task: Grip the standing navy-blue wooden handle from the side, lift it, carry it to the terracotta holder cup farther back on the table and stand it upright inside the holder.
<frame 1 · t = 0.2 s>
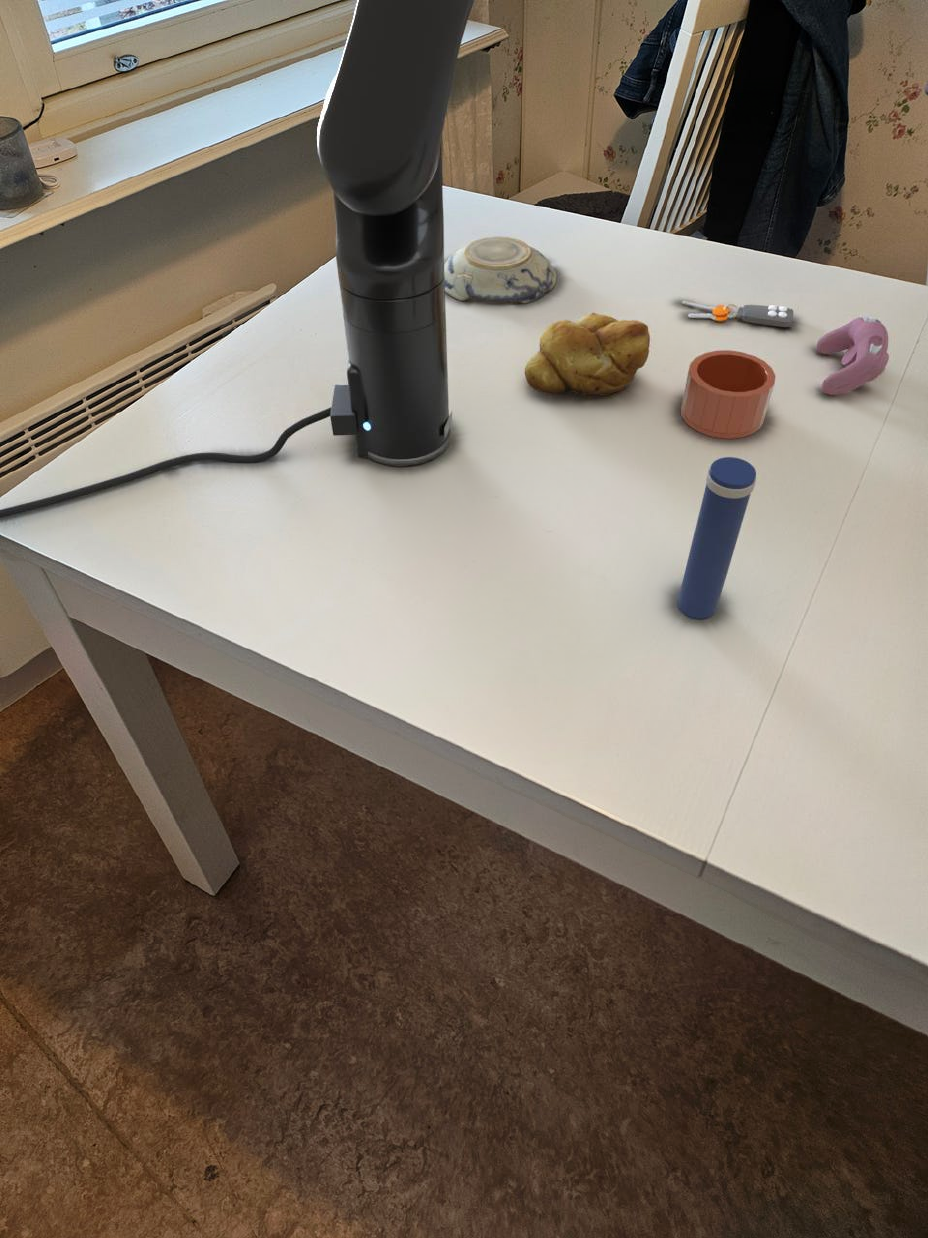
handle: (696, 605, 72), on the table
holder: (721, 414, 90), on the table
decorative bowl: (497, 279, 111), on the table
bread roll: (580, 382, 95), on the table
key chain: (734, 318, 104), on the table
video game controller: (843, 376, 95), on the table
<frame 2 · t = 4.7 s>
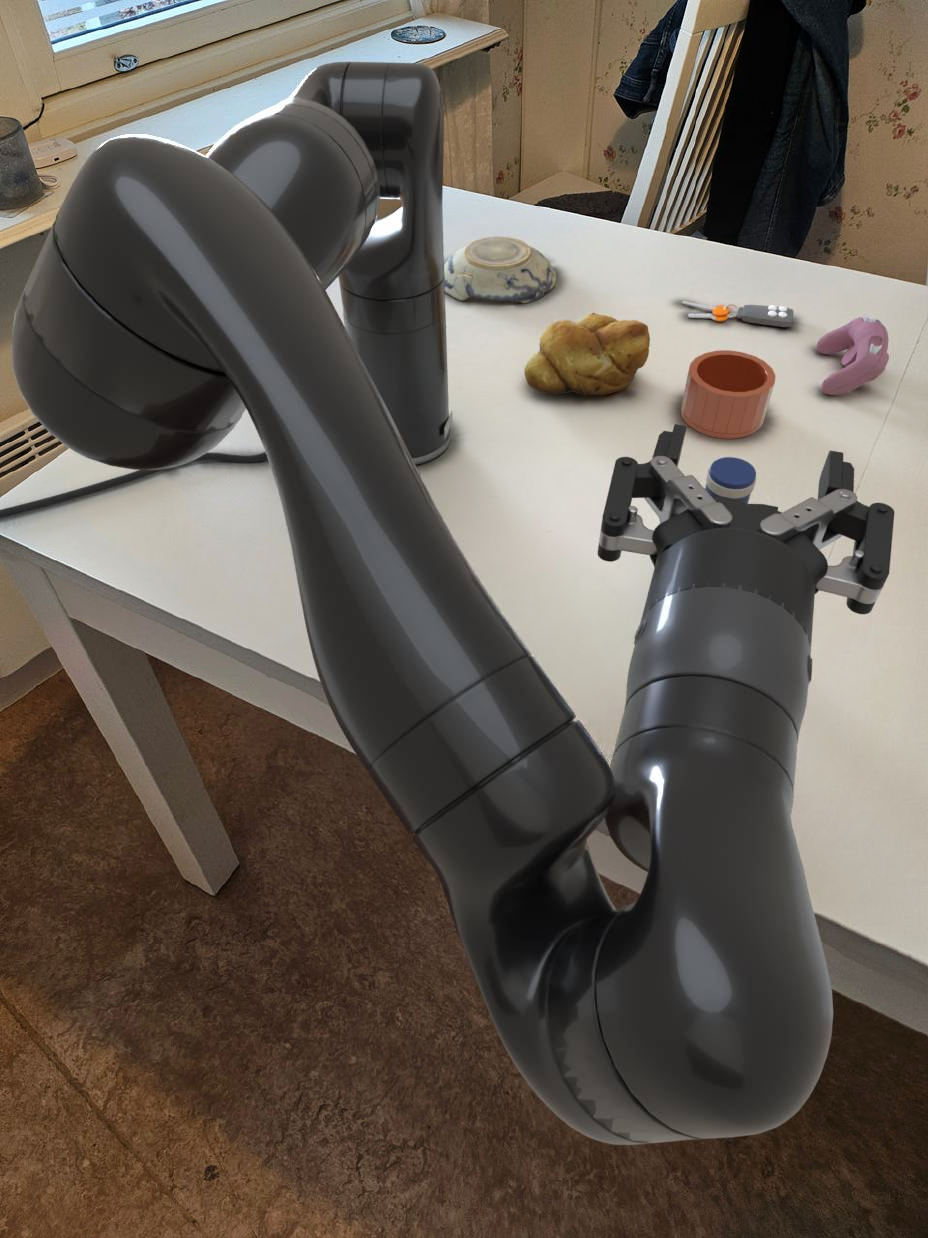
hand: (753, 450, 50), 22 cm above the table, tool horizontal, fingers open, 8 cm apart
nothing on the table moved.
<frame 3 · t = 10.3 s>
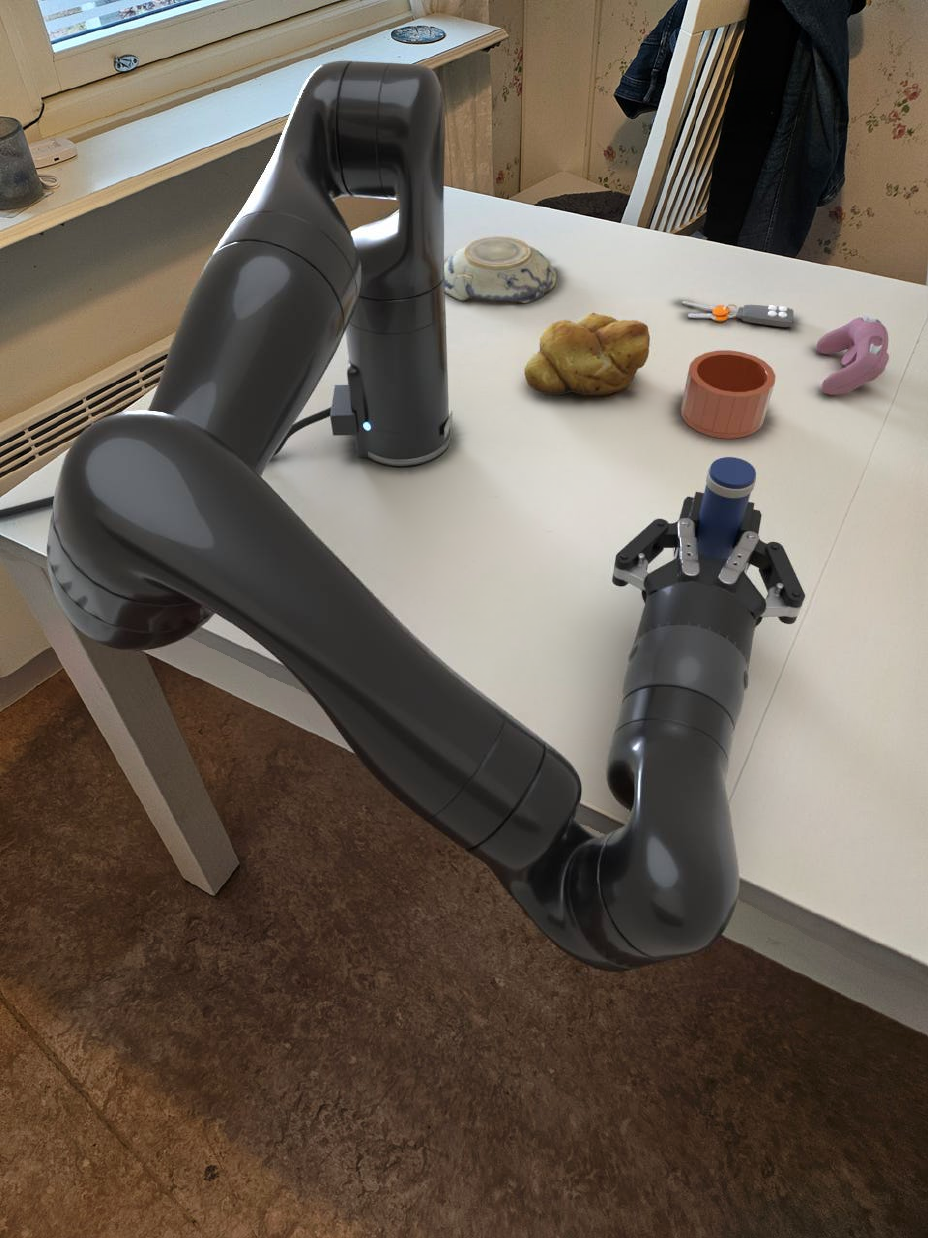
hand: (722, 506, 68), 8 cm above the table, tool horizontal, fingers closed on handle, 3 cm apart
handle: (697, 605, 72), on the table, touching gripper
everything else where it was.
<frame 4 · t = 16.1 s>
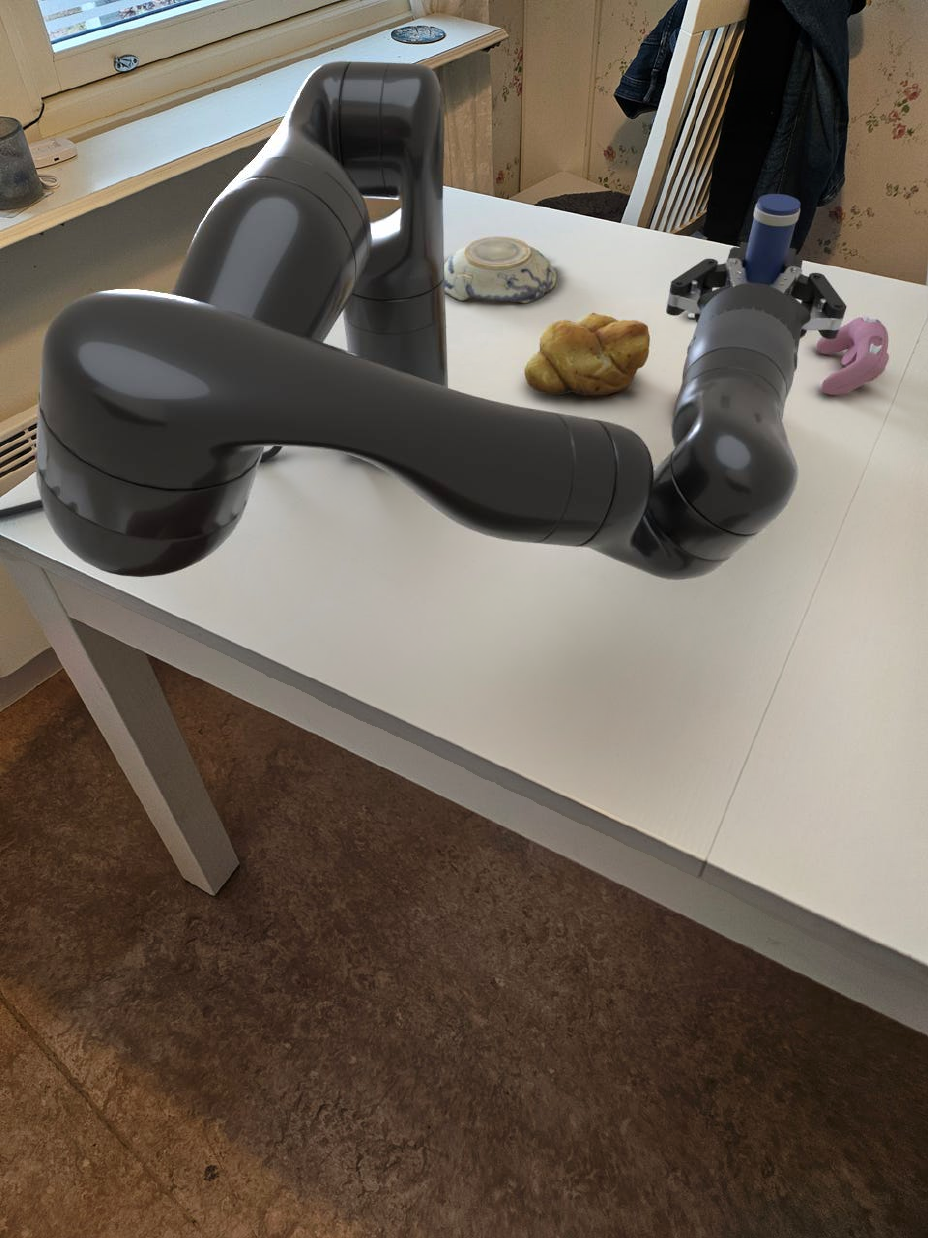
hand: (766, 256, 73), 19 cm above the table, tool horizontal, fingers closed on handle, 3 cm apart
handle: (739, 362, 78), point 11 cm above the table, touching gripper
everything else where it was.
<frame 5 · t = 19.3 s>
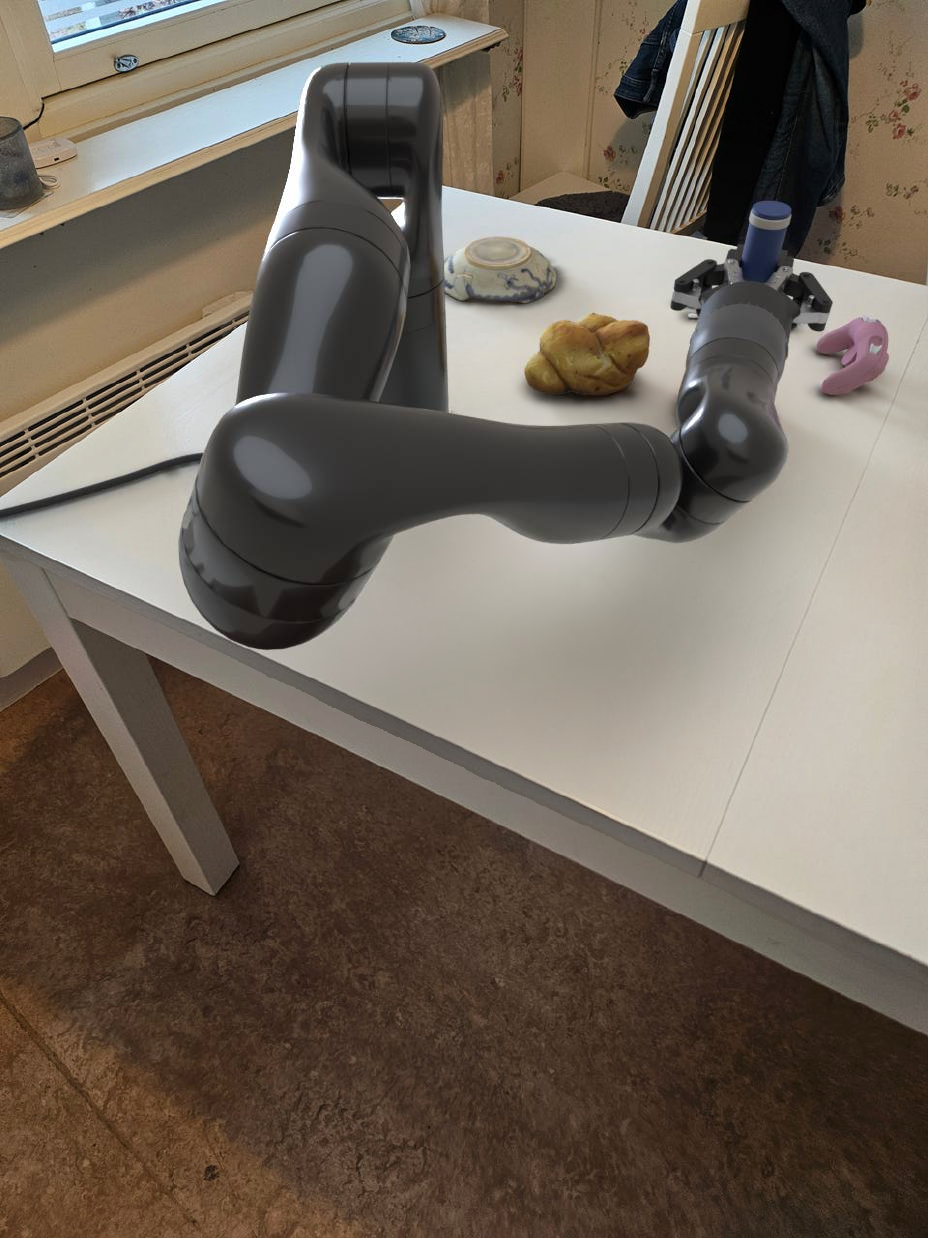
hand: (760, 257, 81), 15 cm above the table, tool horizontal, fingers closed on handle, 3 cm apart
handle: (736, 354, 85), point 7 cm above the table, touching gripper
everything else where it was.
when the fingers open (9 cm above the table, at t = 21.8 s): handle stays where it is, resting on holder.
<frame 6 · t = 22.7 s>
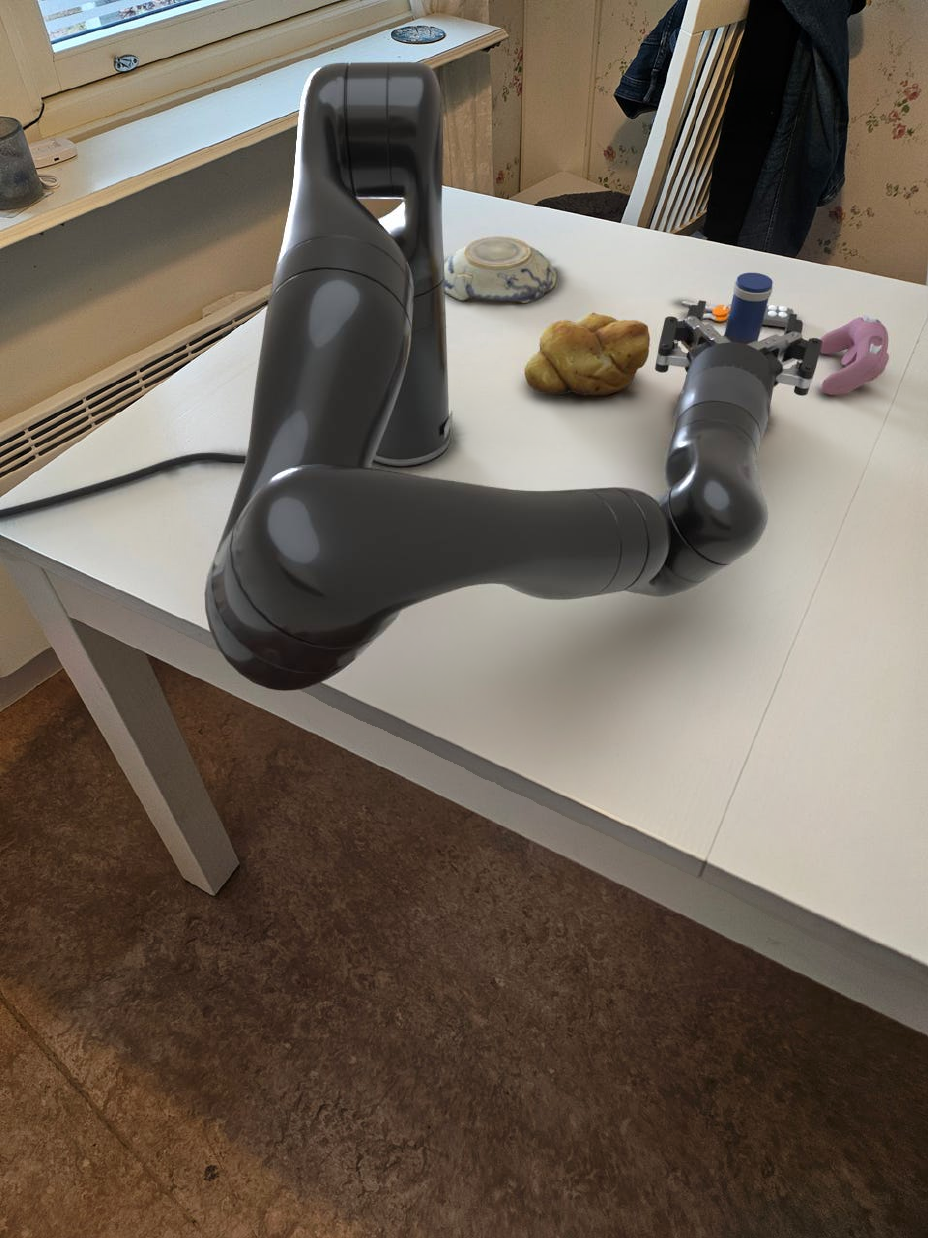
hand: (745, 315, 84), 10 cm above the table, tool horizontal, fingers open, 8 cm apart
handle: (723, 410, 90), point 1 cm above the table, touching holder
everything else where it was.
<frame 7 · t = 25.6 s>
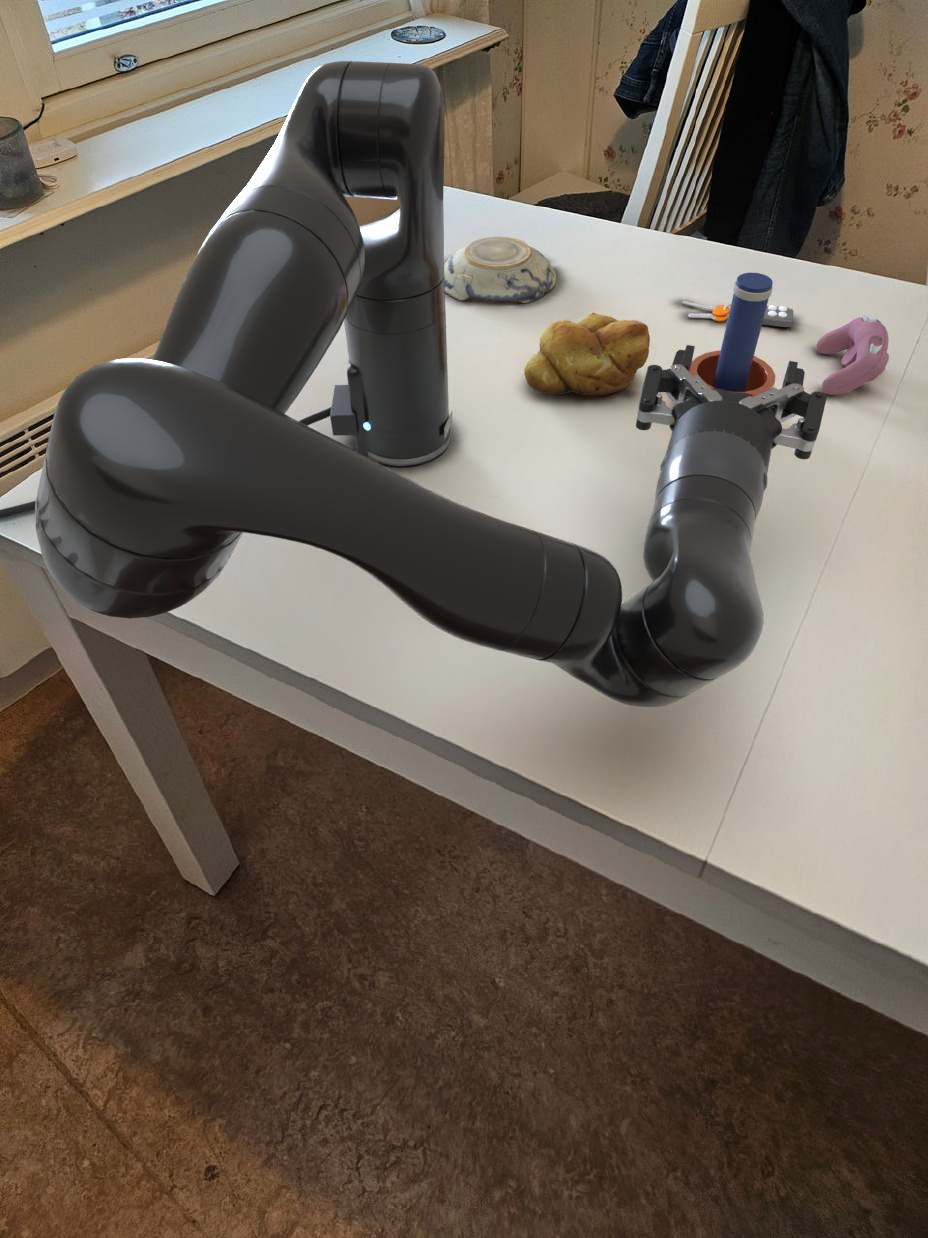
hand: (739, 362, 74), 12 cm above the table, tool horizontal, fingers open, 8 cm apart
nothing on the table moved.
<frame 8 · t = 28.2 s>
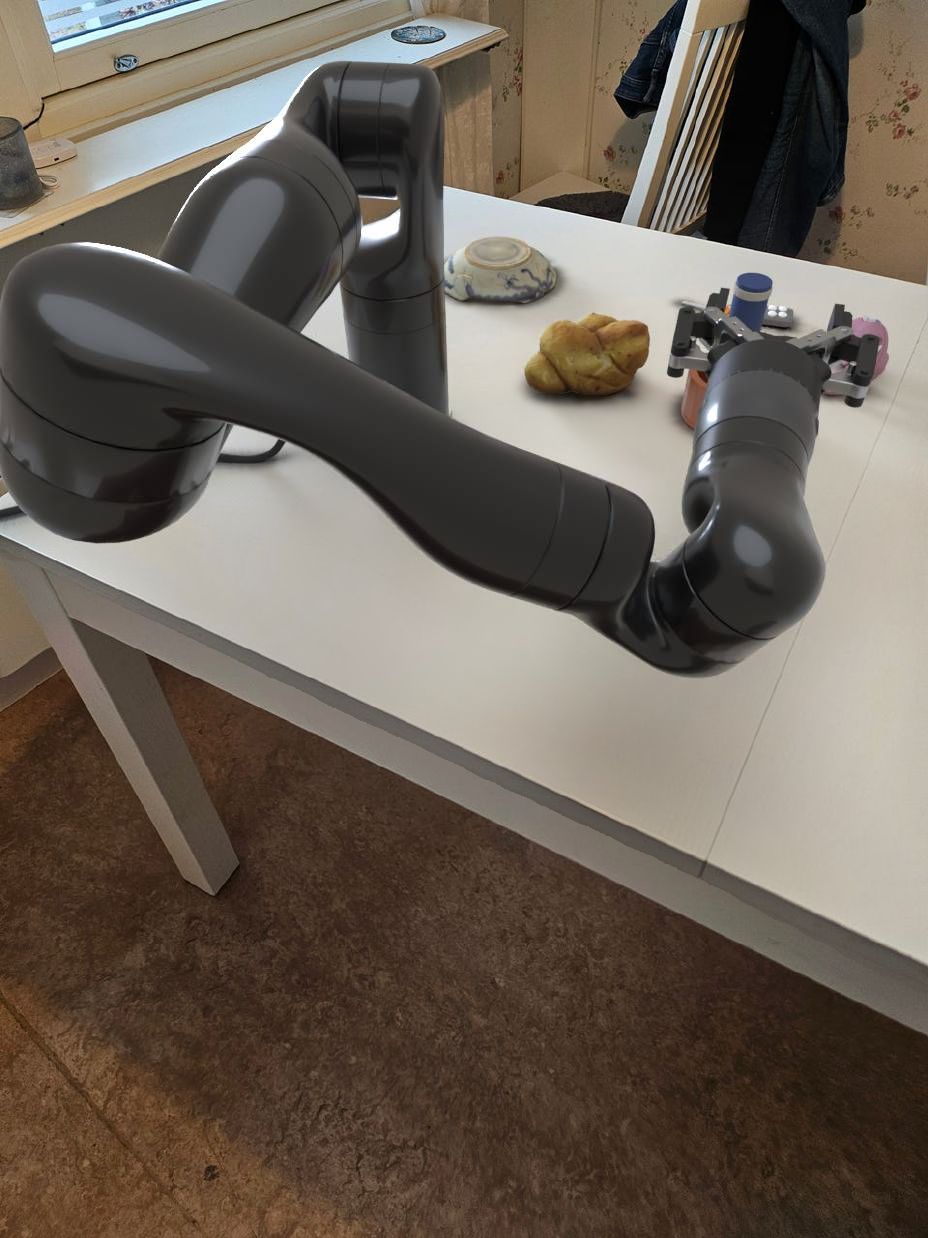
hand: (779, 306, 68), 19 cm above the table, tool horizontal, fingers open, 8 cm apart
nothing on the table moved.
at the end: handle 0.1 cm off-centre in the holder, point 0.6 cm above the holder's base; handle tilted 0°; the gripper is holding nothing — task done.
